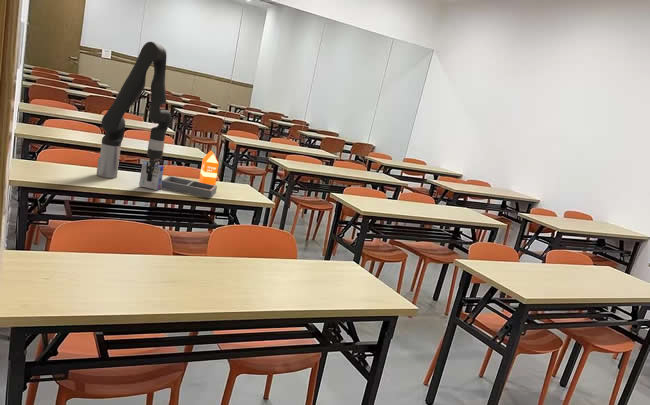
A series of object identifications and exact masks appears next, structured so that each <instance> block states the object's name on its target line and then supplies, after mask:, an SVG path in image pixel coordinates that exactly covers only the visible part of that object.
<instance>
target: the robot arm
mask: <svg viewBox="0 0 650 405" xmlns="http://www.w3.org/2000/svg"><path fill="white" fill-rule="evenodd" d="M151 65H152V66H153V76H152V80H151V84H150V95H151V96H150V97H151V98H150V99H151V101H150V108H149V114H148V116H149V119H150V121H151V123H154V124H158V125H157V126H154V127H152V128H151V129H150V135H149V140H148V144H147V145H148V146H147V153H146V156H147V157H149V160H148V161H147V162H146V163H147V167H146V173H147V174H148V176H147V181H150V182H151V181H152V174H153V171H154V170H155V166H156V165H161V161H162V160H161V159H163V155H164V148H165V138H166V132H167V131H168V128H169V126H170V123H171V121H172V115H171V112H170V111H169V110H167V109H162V108H161V107H162V106H163V105H165V104H166V103H167V92H166V70H167V69H166V68H167V67H166V66H167V50H166V48H165V47H164V46H162V45H161V44H158V43H156V42H154V41H148V42H145V43H144V44H143V46H142V47H141V49H140V52H139V54H138V56H137V59H136V61H135V63H134V65H133V67H132V69H131V71H130V72H129V74H128V76H127V77H126V79H125V81H124V83H123V84H122V86H121V87H120V90H119V91H118V93H117V95H116V97H115V99H114V101H113V103H112V104H111V106H110V107H109V109H108V110H107V111H106V113H105V114H104V115H103V117H102V119H101V127H102V129H103V130H104V131H105V133H104V135H103V137H102V138H101V146H100V154H99V157H97V167H96V176H99V177H102V178H106V179H116V178H117V177H118V170H119V163H120V157H121V156H120V154H121V146H122V142H123V141H124V140H123V139H124V136H125V129H126V120H125V118H124V116H125V114H126V112H127V111H128V110H129V109H130V108H131V107H132V106H133V105H134V104H135V103H136V101H137V100H138V99H139V98H140V96H141V94H142V93H143V91H144V90H145V88H146V87H145V86H146V82H147V81H146V79H147V72H148V71H149V68H150V66H151ZM157 163H158V164H157ZM152 167H154V168H152Z"/></svg>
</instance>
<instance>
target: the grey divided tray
mask: <svg viewBox="0 0 650 405" xmlns="http://www.w3.org/2000/svg"><path fill="white" fill-rule="evenodd" d="M164 188H166V189H165V190H169V189H171V190H170V191H174V190H175V192H179V193H183V192H185V193H184V194H188V193H190V194H189V195H193V194H195V195H194V196H198V195H199V197H204V198H209V199H212V197H213V196H214V195H215V194H216V193H217V189H218V185H216V184H215V185H211V184H206V183H202V182H199V181H196V180H191V179H187V178H183V177H182V178H181V177H177V176H172V175H169V176H167V177H165V178H164V179H162V183H161V188H160V189H164Z"/></svg>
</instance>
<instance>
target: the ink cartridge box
mask: <svg viewBox="0 0 650 405" xmlns="http://www.w3.org/2000/svg"><path fill="white" fill-rule="evenodd" d="M157 164H158V163H157ZM146 167H147V162H143V163H142V164H141V169H140V177H139V183H138V184H139V185H138V186H139V187H143V188H146V189H151V190H154V191H156V190H160V189H162V188H161V183H162V180H163V175H164V170H165V168H164V167H165V166H164V165H161V164H160V165H156V166H155V170H154V171H153V174H152V181H151V182H150V181H147V176H148V174H147V173H146ZM152 168H154V167H152Z"/></svg>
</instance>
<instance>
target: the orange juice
mask: <svg viewBox="0 0 650 405" xmlns="http://www.w3.org/2000/svg"><path fill="white" fill-rule="evenodd" d="M200 167H201V168H200V174H199V180H198V182H202V183H206V184H211V185H216V183H217V182H216V181H217V177H218V171H219V170H218V169H219V161H218V159H217V157H216V155H215V153H214V152H213V150H209V151H208V153H206V155H205V156H204V157H203V158H202V162H201V166H200Z"/></svg>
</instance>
